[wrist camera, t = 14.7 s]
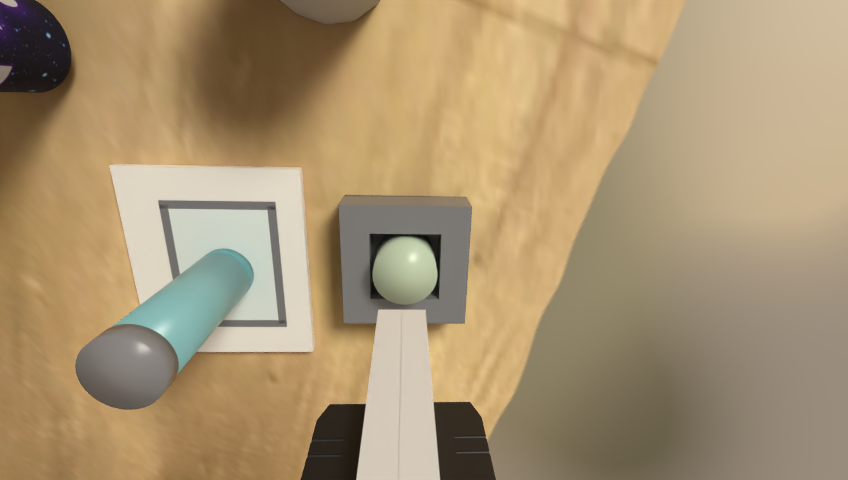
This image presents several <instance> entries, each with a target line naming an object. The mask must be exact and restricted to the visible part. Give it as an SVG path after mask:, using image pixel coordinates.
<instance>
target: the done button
mask: <svg viewBox="0 0 848 480" xmlns="http://www.w3.org/2000/svg"><path fill="white" fill-rule="evenodd" d="M372 276H373V282H374V285H375V287H376V289H377V291H378V292H379V293H380V294H381V295H382V296H383V297H384V298H385V299H387V300H388V301H390V302H393V303H396V304H402V305H408V304H414V303H417V302H419V301H421V300H423V299H425V298H426V297H427V296H428V295H429V294H430V293H431V292H432V291H433V289H434V287H435V285H436V282H437V267H436V261H435V256H434V251H433V248H432V246H431V244H430V243H429V241H428V240H427V239H426V238H425V237H424V236H422V235H421V234H390V235H388V236H387V237H386V238H384V240H383V241H382V242H381V243H380V245H379V247H378V249H377V253H376V258H375V262H374V267H373V275H372Z"/></svg>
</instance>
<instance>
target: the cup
mask: <svg viewBox="0 0 848 480" xmlns="http://www.w3.org/2000/svg"><path fill="white" fill-rule="evenodd" d="M280 1H281V2H282V3H283V4H285V5H286V6H287V7H289V8H290V9H291V10H292V11H294V12H295V13H296V14H298V15H301V16H303V17H306V18H309V19H311V20H314V21H317V22H319V23H322V24H325V25H329V24H336V23H344V22H351V21H355V20H357V19H358V18H359V17H361V16H362V15H363V14H365V13H366V12H368V11H369V10H370V9H372V8H373V7H374V6H376V5H377V4H378V3H379V1H380V0H280Z"/></svg>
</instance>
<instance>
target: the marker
mask: <svg viewBox="0 0 848 480" xmlns="http://www.w3.org/2000/svg"><path fill="white" fill-rule="evenodd" d="M253 280H254V272H253V268H252V266H251V264H250V262H249V261H248V260H247V259H246V258H245V257H244V256H243V255H242V254H240V253H238V252H236V251H234V250H231V249H224V248H223V249H216V250H213V251H211V252H209V253H208V254H206V255H205V256H204V257H202V258H201V259H200V260H198V261H197V262H196V263H194V264H193V265H192V266H191V267H189V268H188V269H187V270H185V271H184V272H183V273H181V274H180V275H179V276H178V277H176V278H175V279H174V280H172V281H171V282H170V283H168V284H167V285H166V286H164V287H163V288H162V289H161V290H159V291H158V292H157V293H155V294H154V295H153V296H151V297H150V298H149V299H147V300H146V301H145V302H144V303H142V304H141V305H140V306H138V307H137V308H136V309H134V310H133V311H132V312H130V313H129V314H128V315H127V316H125V317H124V318H123V319H121V320H120V321H119V322H117V323H116V324H115V325H114V326H112V327H111V328H109V329H107V330H105V331H104V332H103V333H101V334H100V335H99V336H97V337H96V338H95V339H93V340H92V341H91V342H89V343H88V344H87V345H86V346H85V347H83V348H82V350H81V351H80V352H79V354H78V356H77V359H76V365H75V367H76V374H77V377H78V380H79V381H80V383H81V385H82V386H83V388H84V389H85V390H86V391H87V392H88V393H89V394H90V395H91V396H92V397H94V398H95V399H96V400H98V401H100V402H102V403H104V404H106V405H108V406H111V407H114V408H119V409H129V410H131V409H139V408H143V407H146V406H149V405H151V404H152V403H154V402H155V401H156V400H158V398H159V397H160V396H161V395H162V394H163V393H164V391H165V390H166V389H167V388H168V387H169V385H170V384H171V383H172V382H173V381H174V379H175V377H176V375H177V374H178V373H179V372H180V371H181V369H182V368H183V367H184V366H185V365H186V364H187V362H188V361H189V360H190V359H191V358H192V356H193V355H194V354H195V353H196V352H197V350H198V349H199V348H200V347H201V346H202V345H203V343H204V342H205V341H206V340H207V339H208V337H209V336H210V335H211V334H212V333H213V331H214V330H215V329H216V328H217V327H218V325H219V324H220V323H221V322H222V321H223V320H224V318H225V317H226V316H227V315H228V314H229V312H230V311H231V310H232V309H233V308H234V306H235V305H236V304H237V303H238V302H239V300H240V299H241V298H242V297H243V296H244V295H245V293H246V292H247V291H248V290H249V289H250V287H251V286H252V283H253Z"/></svg>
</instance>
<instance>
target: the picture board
mask: <svg viewBox="0 0 848 480" xmlns="http://www.w3.org/2000/svg"><path fill="white" fill-rule="evenodd" d="M109 166H110V171H111V175H112V180H113V184H114V189H115V193H116V198H117V202H118V207H119V212H120V216H121V221H122V225H123V230H124V234H125V239H126V243H127V248H128V252H129V257H130V262H131V266H132V271H133V275H134V280H135V284H136V289H137V293H138V298H139V303H140V305H141V304H142V303H144V302H145V301H146V300H147V299H149V298H150V297H151V296H153V295H154V294H155V293H157V292H158V291H159V290H161V289H162V288H163V287H164V286H166V285H167V284H168V283H170V282H171V281H172V280H174V279H175V278H176V277H178V276H179V275H180V274H181V273H183V272H184V271H185V270H187V269H188V268H189V267H191V266H192V265H193V264H194V263H196V262H197V261H198V260H200V259H201V258H202V257H204V256H205V255H206V254H208V253H209V252H211V251H213V250H216V249H223V248H224V249H231V250H234V251H236V252H238V253H240V254H242V255H243V256H244V257H245V258H246V259H247V260H248V261H249V262H250V264H251V266H252V268H253V272H254V280H253V283H252V286H251V287H250V289H249V290H248V291H247V292H246V293H245V295H244V296H243V297H242V298H241V299H240V300H239V302H238V303H237V304H236V305H235V306H234V308H233V309H232V310H231V311H230V312H229V314H228V315H227V316H226V317H225V318H224V320H223V321H222V322H221V323H220V324H219V325H218V327H217V328H216V329H215V330H214V331H213V333H212V334H211V335H210V336H209V337H208V339H207V340H206V341H205V342H204V343H203V345H202V346H201V347H200V348H199V349H198V350H197V352H313V351H314V348H315V342H314V328H313V314H312V300H311V286H310V272H309V258H308V244H307V229H306V215H305V201H304V187H303V173H302V167H255V166H199V165H142V164H114V165H109Z"/></svg>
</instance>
